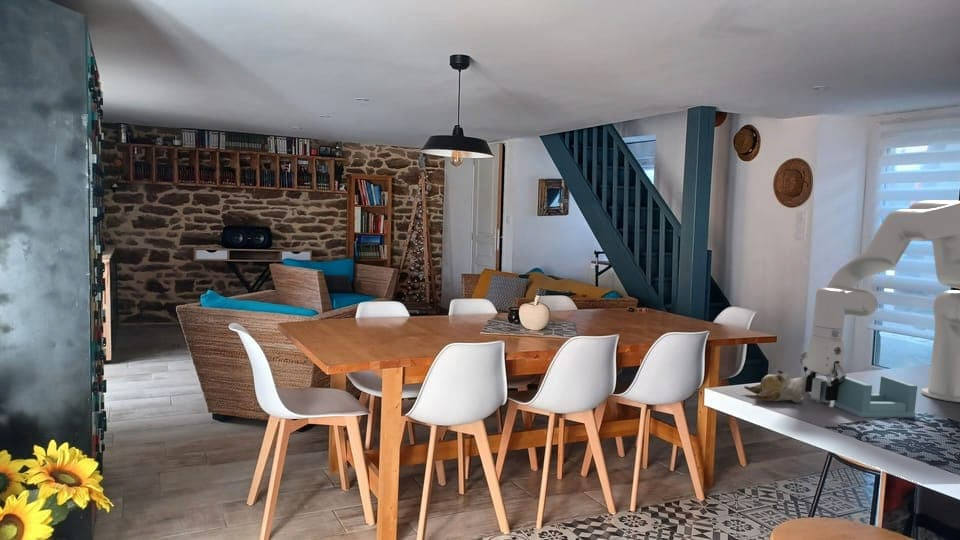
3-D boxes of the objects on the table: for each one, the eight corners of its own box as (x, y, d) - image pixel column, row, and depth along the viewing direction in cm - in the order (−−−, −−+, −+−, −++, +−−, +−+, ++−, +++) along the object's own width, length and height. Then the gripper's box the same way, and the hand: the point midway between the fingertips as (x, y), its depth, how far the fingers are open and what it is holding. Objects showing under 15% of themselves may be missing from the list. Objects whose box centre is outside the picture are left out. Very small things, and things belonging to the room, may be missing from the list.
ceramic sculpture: (814, 375, 177) (756, 374, 178) (813, 407, 178) (755, 406, 179) (798, 366, 188) (743, 366, 189) (797, 397, 189) (742, 396, 190)
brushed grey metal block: (822, 399, 188) (824, 378, 187) (830, 403, 184) (832, 381, 184) (810, 399, 187) (812, 378, 187) (819, 403, 184) (821, 381, 183)
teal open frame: (885, 405, 185) (889, 376, 184) (914, 416, 175) (918, 386, 174) (833, 405, 182) (836, 375, 181) (860, 416, 172) (863, 385, 171)
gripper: (862, 339, 176) (854, 405, 178) (818, 328, 193) (811, 387, 195) (836, 339, 175) (829, 404, 176) (794, 327, 192) (788, 387, 193)
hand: (820, 395), depth 186 cm, fingers open, 7 cm apart
